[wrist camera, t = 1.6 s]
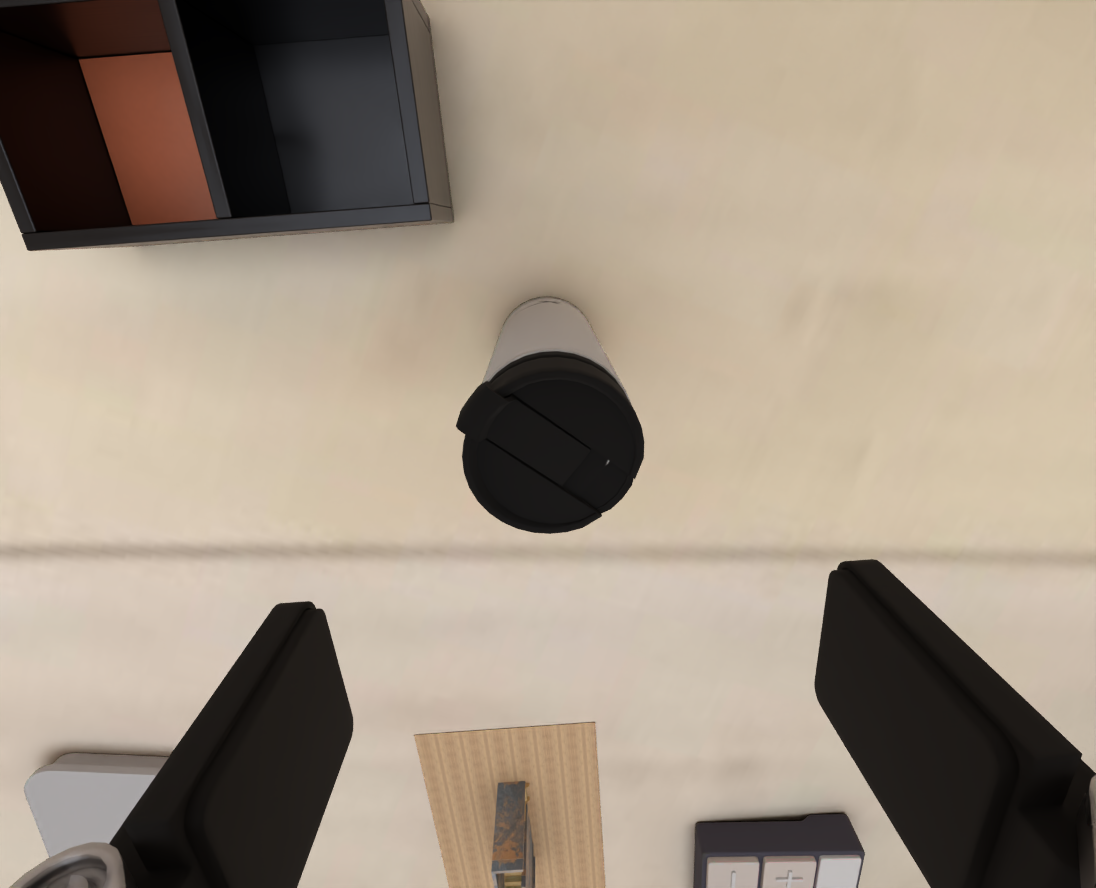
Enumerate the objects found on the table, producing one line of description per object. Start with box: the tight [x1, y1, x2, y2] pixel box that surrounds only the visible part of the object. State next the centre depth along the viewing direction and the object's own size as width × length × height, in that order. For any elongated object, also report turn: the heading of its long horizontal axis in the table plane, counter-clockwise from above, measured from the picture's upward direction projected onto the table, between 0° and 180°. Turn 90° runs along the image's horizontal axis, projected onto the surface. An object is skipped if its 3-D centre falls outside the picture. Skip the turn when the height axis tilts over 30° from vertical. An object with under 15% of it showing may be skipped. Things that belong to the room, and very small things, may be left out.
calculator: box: [694, 814, 865, 888], centre depth 54 cm, size 11×4×15 cm
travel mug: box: [456, 297, 644, 534], centre depth 27 cm, size 6×7×20 cm
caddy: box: [0, 0, 454, 251], centre depth 28 cm, size 10×20×8 cm, turn 94°
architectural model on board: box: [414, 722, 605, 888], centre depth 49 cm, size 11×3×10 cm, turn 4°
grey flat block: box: [24, 753, 169, 858], centre depth 53 cm, size 16×26×2 cm, turn 175°
